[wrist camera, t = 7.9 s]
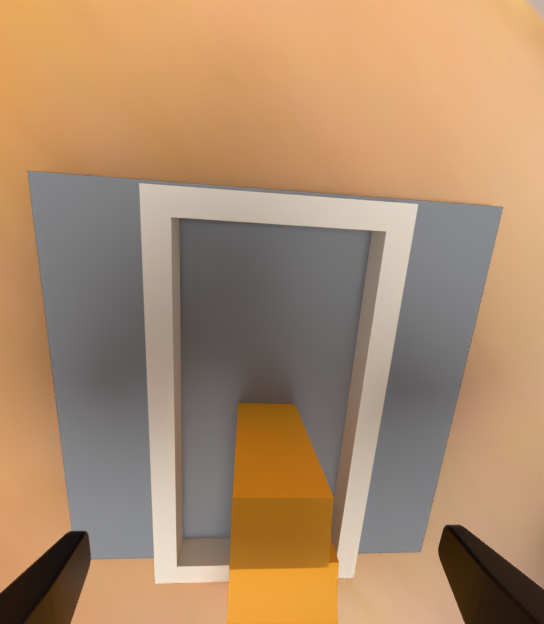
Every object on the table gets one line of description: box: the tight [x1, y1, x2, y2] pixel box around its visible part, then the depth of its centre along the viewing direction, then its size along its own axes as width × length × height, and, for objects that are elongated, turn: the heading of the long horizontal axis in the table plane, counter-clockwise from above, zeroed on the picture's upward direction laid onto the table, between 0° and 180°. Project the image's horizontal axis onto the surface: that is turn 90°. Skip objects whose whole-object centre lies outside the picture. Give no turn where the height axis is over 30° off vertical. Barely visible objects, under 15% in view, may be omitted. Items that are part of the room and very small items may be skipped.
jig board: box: [28, 171, 503, 584], centre depth 14 cm, size 18×18×2 cm
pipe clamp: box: [227, 403, 339, 624], centre depth 12 cm, size 12×4×6 cm, turn 176°
